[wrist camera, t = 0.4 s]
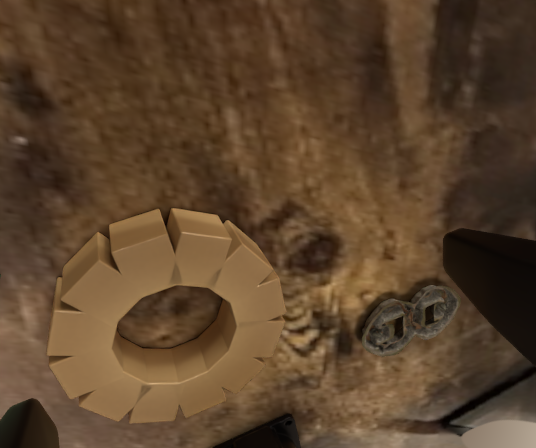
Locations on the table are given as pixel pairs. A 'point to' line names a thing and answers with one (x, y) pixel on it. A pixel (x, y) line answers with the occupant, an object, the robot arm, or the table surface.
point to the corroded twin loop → (409, 320)
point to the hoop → (149, 282)
